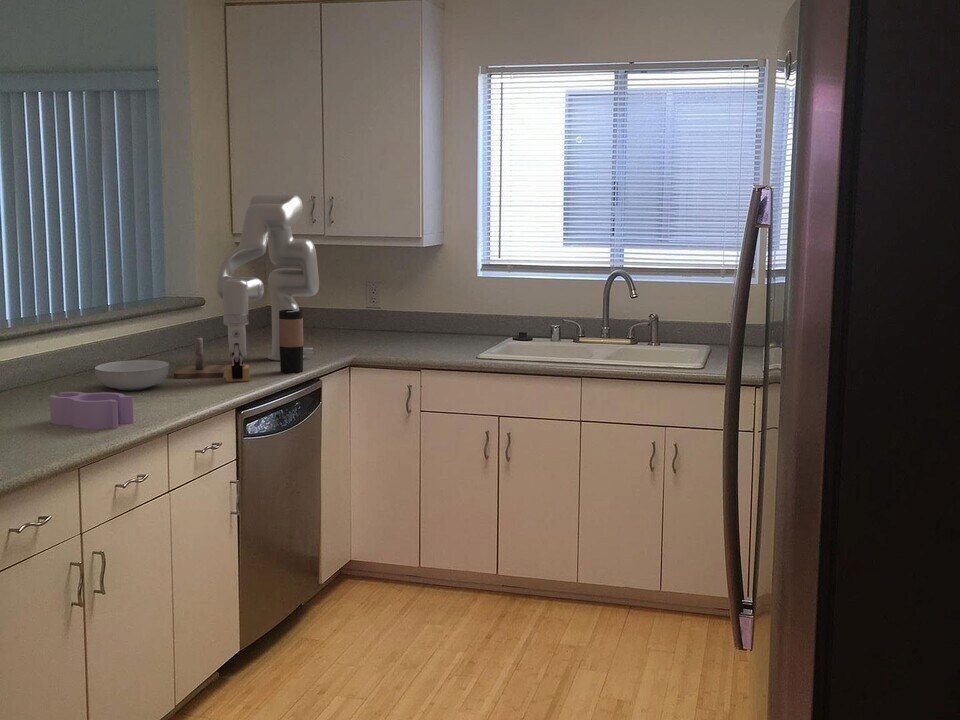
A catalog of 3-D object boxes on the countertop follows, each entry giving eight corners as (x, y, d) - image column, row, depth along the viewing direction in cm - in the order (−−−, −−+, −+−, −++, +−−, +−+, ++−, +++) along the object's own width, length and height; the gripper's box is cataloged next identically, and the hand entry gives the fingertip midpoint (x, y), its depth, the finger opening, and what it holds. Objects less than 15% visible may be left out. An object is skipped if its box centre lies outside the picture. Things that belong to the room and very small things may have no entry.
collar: (249, 377, 330) (249, 364, 330) (249, 380, 324) (248, 368, 323) (226, 377, 329) (226, 365, 328) (225, 381, 322) (225, 368, 321)
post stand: (224, 369, 345) (223, 334, 343) (223, 377, 330) (222, 341, 329) (177, 370, 342) (175, 335, 340) (173, 378, 327) (172, 341, 326)
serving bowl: (111, 381, 322) (110, 359, 321) (179, 382, 321) (178, 360, 320) (83, 393, 301) (82, 370, 300) (156, 395, 301) (155, 371, 300)
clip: (40, 426, 259) (38, 398, 258) (72, 416, 271) (71, 389, 270) (110, 431, 254) (109, 403, 253) (140, 421, 266) (139, 394, 265)
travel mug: (283, 374, 337) (282, 312, 334) (276, 370, 344) (275, 310, 341) (306, 372, 340) (305, 311, 337) (299, 369, 347) (298, 309, 344)
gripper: (248, 322, 316) (249, 381, 318) (248, 316, 332) (250, 371, 335) (222, 323, 314) (224, 381, 317) (224, 316, 331) (226, 372, 334)
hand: (237, 376), depth 326 cm, fingers closed on collar, 7 cm apart
